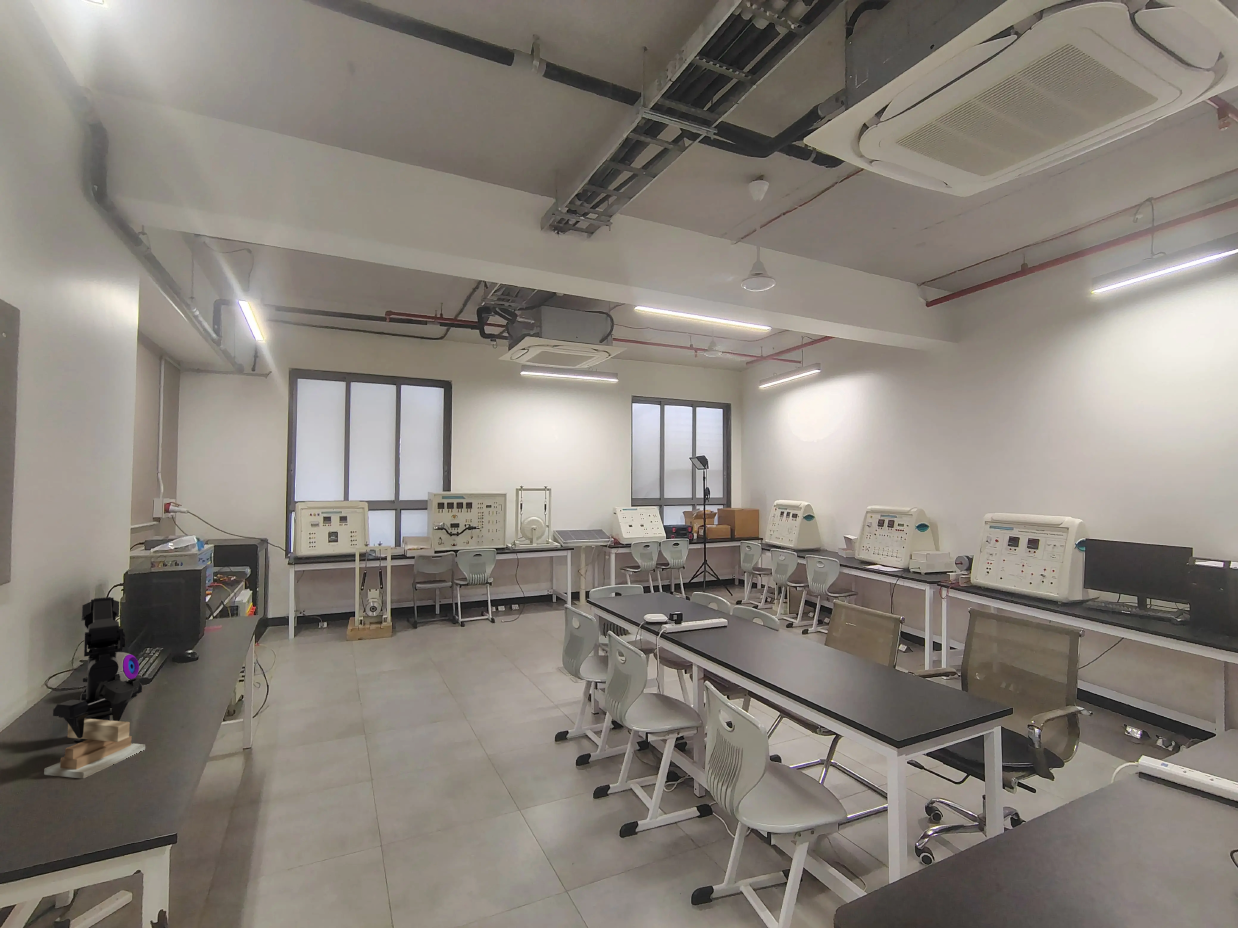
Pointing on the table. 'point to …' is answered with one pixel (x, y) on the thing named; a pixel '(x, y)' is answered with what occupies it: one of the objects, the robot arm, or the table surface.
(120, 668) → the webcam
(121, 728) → the light wooden block
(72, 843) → the table surface
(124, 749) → the ridge stand
